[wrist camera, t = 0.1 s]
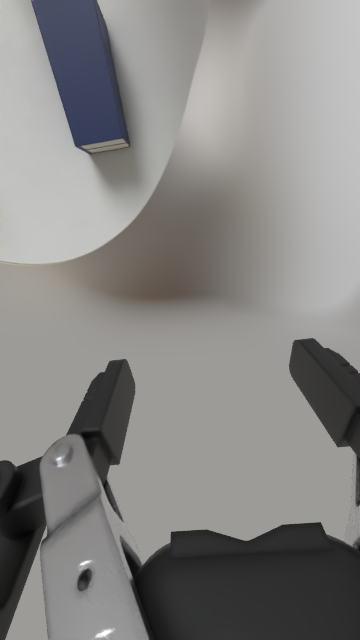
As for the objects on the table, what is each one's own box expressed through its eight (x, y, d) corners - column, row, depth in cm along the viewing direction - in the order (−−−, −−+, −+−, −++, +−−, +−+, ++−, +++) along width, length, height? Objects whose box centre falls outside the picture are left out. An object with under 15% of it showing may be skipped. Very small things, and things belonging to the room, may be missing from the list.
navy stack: (88, 154, 29) (75, 146, 25) (54, 32, 23) (30, -1, 20) (130, 146, 29) (123, 138, 25) (105, 21, 23) (91, -15, 19)
